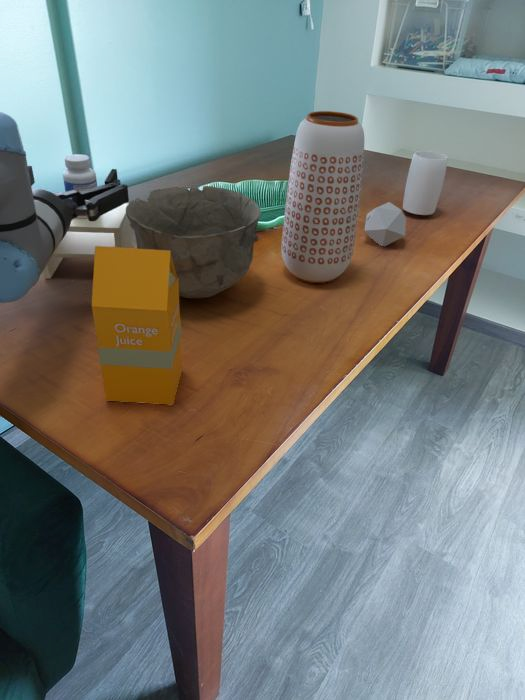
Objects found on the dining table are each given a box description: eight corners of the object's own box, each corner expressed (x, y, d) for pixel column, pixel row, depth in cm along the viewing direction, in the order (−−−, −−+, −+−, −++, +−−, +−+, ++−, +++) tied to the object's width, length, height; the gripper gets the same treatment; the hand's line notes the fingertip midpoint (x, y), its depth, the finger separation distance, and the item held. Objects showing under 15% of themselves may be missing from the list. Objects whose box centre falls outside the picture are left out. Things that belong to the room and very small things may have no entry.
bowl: (237, 256, 107) (239, 181, 98) (275, 310, 90) (281, 226, 81) (125, 267, 100) (117, 188, 92) (143, 328, 84) (135, 238, 75)
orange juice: (120, 366, 75) (103, 232, 64) (183, 370, 75) (177, 237, 64) (105, 402, 69) (83, 261, 57) (173, 406, 69) (165, 266, 57)
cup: (393, 210, 133) (404, 151, 125) (419, 206, 137) (432, 149, 129) (415, 222, 127) (429, 161, 119) (442, 217, 131) (457, 158, 123)
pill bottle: (67, 209, 96) (58, 153, 90) (98, 206, 98) (91, 151, 92) (70, 220, 92) (61, 162, 86) (102, 217, 93) (95, 160, 88)
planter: (297, 294, 95) (313, 127, 79) (268, 262, 105) (278, 108, 89) (361, 284, 100) (390, 124, 83) (328, 254, 110) (348, 106, 93)
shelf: (44, 278, 95) (34, 225, 89) (62, 250, 105) (53, 200, 99) (124, 280, 96) (118, 227, 90) (134, 252, 106) (130, 203, 100)
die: (376, 233, 122) (358, 201, 116) (415, 221, 117) (398, 187, 111) (373, 260, 117) (354, 227, 111) (413, 249, 113) (395, 214, 106)
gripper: (-55, 248, 72) (0, 195, 89) (132, 253, 74) (151, 200, 91) (-72, 193, 68) (-11, 149, 85) (127, 200, 70) (148, 155, 87)
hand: (73, 175), depth 88 cm, fingers open, 13 cm apart
